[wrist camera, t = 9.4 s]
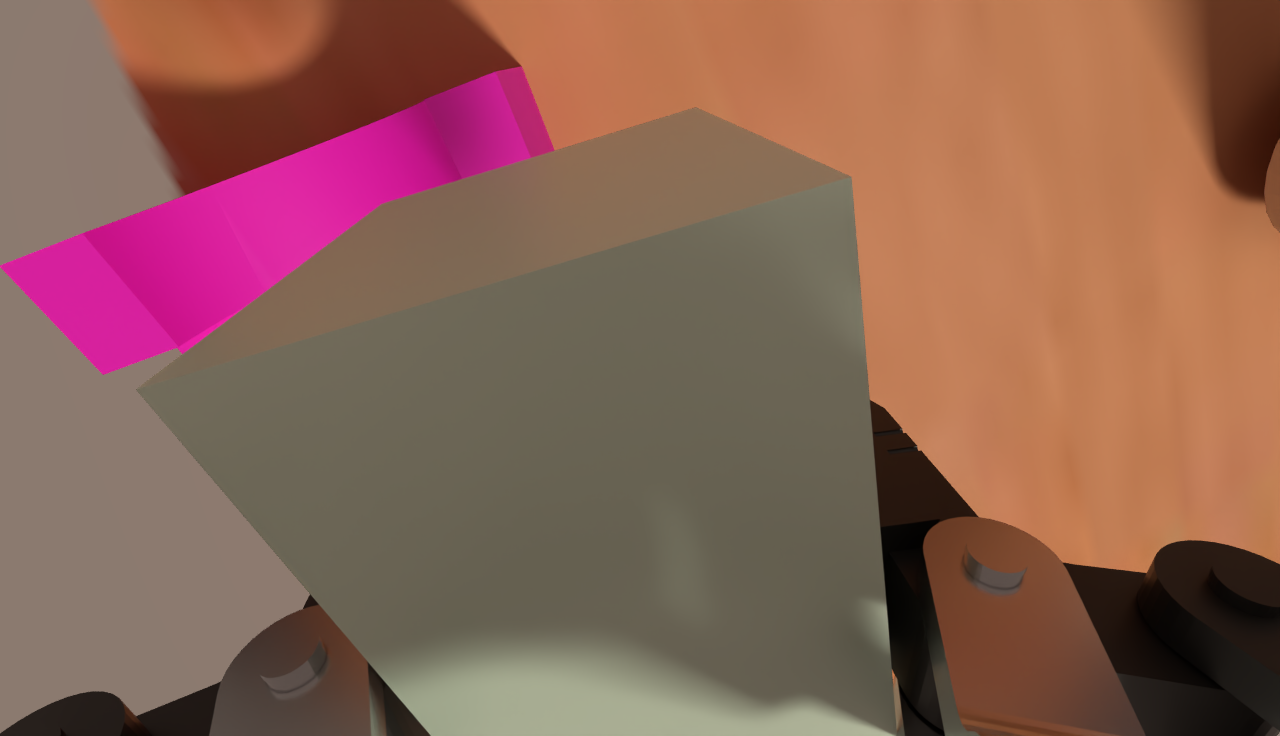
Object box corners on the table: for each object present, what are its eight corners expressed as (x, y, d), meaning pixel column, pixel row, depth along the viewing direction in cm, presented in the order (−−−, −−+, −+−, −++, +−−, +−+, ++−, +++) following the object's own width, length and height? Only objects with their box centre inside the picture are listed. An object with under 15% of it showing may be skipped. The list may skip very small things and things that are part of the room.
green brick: (695, 106, 8) (851, 177, 3) (787, 556, 12) (905, 842, 8) (381, 203, 8) (136, 389, 4) (583, 611, 12) (586, 918, 8)
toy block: (269, 337, 25) (161, 435, 19) (169, 204, 22) (-2, 265, 16) (583, 223, 24) (584, 286, 18) (522, 66, 21) (495, 71, 15)
